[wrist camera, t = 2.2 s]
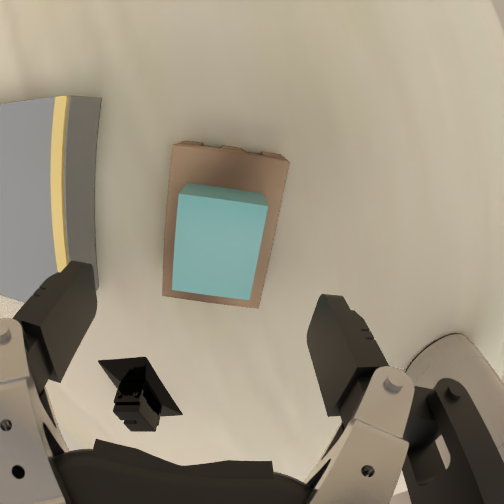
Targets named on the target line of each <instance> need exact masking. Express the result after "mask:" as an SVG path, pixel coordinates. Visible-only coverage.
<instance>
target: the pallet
mask: <svg viewBox="0 0 504 504" xmlns="http://www.w3.org/2000/svg"><path fill="white" fill-rule="evenodd" d="M288 167H289V161H288V160H286V159H285V158H284V157H283V156H282V155H279V154H274V153H268V152H261V155H260V154H254V153H248V152H243V150H242V148H237V147H230V146H222V147H221V149H220V148H213V147H205V146H203V143H199V142H190V141H183V142H180V143H178V144H175V145H173V148H172V157H171V166H170V175H169V185H168V196H167V208H166V222H165V238H164V258H163V291H162V296H167V297H174V298H181V299H187V300H195V301H202V302H209V303H217V304H225V305H233V306H241V307H250V308H259V304H260V300H261V295H262V291H263V286H264V282H265V277H266V272H267V268H268V263H269V259H270V254H271V249H272V245H273V240H274V235H275V230H276V226H277V221H278V216H279V211H280V207H281V202H282V197H283V192H284V187H285V182H286V177H287V172H288ZM187 183H193V184H201V185H208V186H216V187H223V188H230V189H237V190H243V191H250V192H256V193H263V194H264V196H265V199H266V202H267V204H268V210H267V215H266V220H265V225H264V230H263V235H262V240H261V245H260V250H259V255H258V260H257V265H256V270H255V275H254V280H253V285H252V290H251V295H250V300H243V299H235V298H227V297H220V296H212V295H205V294H197V293H190V292H183V291H176V290H172V279H173V261H174V245H175V232H176V219H177V208H178V198H179V193H180V192H181V190H182V189H183V188H184V187H185V185H186V184H187Z"/></svg>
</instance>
